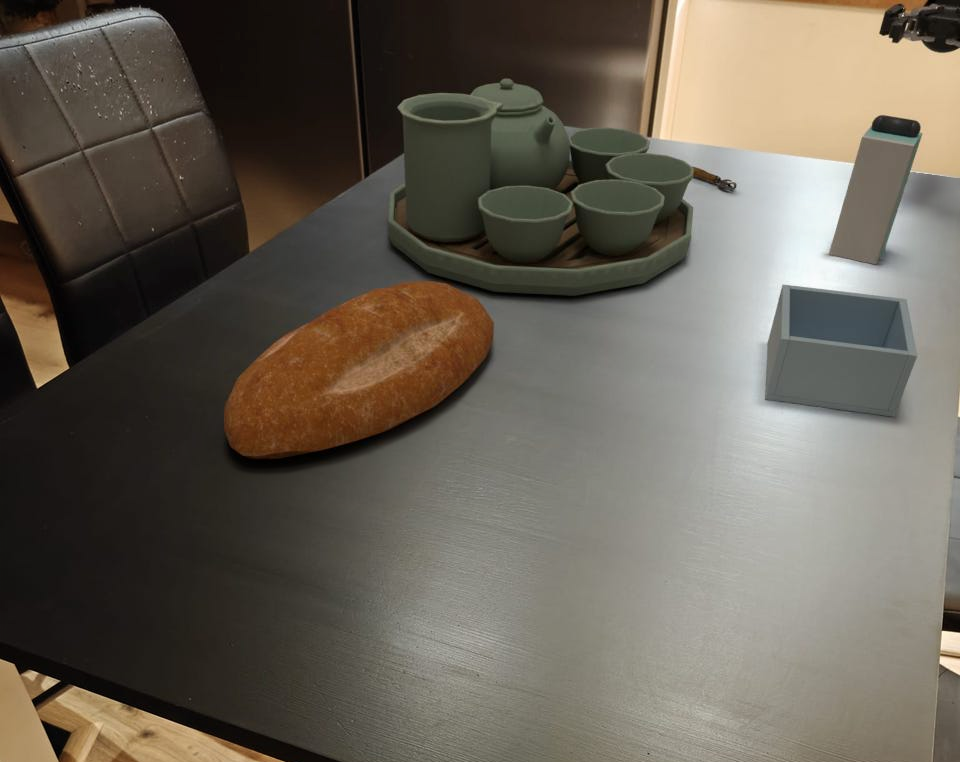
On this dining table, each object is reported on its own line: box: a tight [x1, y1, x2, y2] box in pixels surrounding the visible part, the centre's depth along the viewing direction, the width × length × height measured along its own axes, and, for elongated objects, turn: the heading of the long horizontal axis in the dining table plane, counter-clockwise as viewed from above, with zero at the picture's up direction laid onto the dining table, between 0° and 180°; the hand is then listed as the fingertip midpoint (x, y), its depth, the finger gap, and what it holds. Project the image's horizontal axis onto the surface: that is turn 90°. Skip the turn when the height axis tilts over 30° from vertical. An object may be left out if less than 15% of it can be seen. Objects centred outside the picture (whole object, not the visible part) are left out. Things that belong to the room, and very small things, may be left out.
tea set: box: [387, 78, 694, 297], centre depth 118 cm, size 40×40×16 cm
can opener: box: [692, 166, 737, 191], centre depth 138 cm, size 9×2×1 cm, turn 35°
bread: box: [223, 280, 495, 460], centre depth 91 cm, size 18×35×9 cm, turn 142°
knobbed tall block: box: [828, 114, 923, 265], centre depth 116 cm, size 6×6×16 cm
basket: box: [764, 284, 918, 418], centre depth 96 cm, size 13×13×7 cm
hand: (933, 38), depth 113 cm, fingers open, 8 cm apart
